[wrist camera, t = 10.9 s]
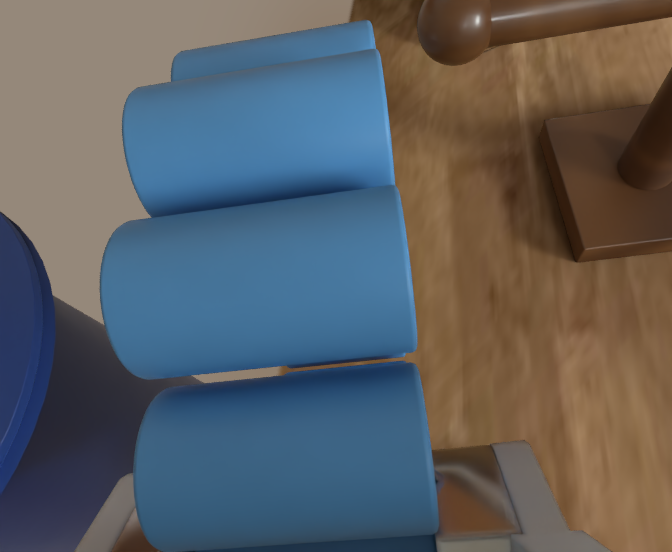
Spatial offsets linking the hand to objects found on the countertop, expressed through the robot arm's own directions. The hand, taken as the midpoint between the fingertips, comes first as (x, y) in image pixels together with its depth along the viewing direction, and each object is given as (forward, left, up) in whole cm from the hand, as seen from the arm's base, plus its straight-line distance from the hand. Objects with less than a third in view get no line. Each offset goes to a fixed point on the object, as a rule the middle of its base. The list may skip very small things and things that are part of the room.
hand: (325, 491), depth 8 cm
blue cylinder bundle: (+2, +2, -5) cm, 6 cm away
